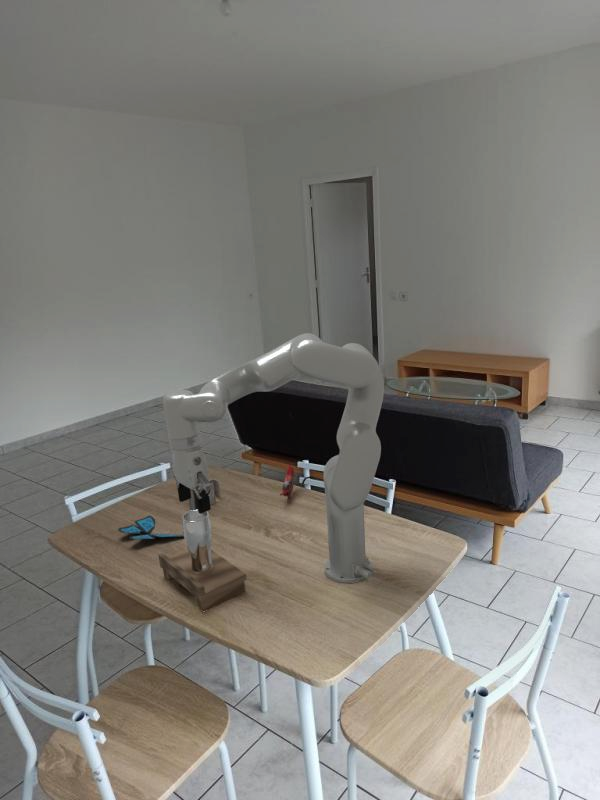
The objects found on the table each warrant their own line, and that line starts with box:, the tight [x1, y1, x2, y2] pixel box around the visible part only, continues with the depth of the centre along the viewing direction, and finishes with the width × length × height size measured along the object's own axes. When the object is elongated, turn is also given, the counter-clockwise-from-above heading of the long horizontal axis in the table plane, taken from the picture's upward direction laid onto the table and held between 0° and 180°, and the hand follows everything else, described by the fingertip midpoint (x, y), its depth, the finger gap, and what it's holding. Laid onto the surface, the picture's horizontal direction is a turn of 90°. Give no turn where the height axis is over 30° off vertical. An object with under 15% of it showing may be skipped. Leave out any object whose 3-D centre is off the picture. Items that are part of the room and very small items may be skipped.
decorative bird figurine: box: [279, 465, 295, 501], centre depth 195 cm, size 3×18×10 cm, turn 167°
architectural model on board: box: [188, 478, 222, 511], centre depth 196 cm, size 11×3×10 cm, turn 139°
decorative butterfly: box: [118, 515, 184, 540], centre depth 179 cm, size 20×14×3 cm
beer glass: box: [181, 509, 214, 574], centre depth 148 cm, size 7×7×15 cm
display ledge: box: [157, 548, 248, 612], centre depth 151 cm, size 22×13×7 cm, turn 39°
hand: (194, 505), depth 146 cm, fingers open, 9 cm apart
